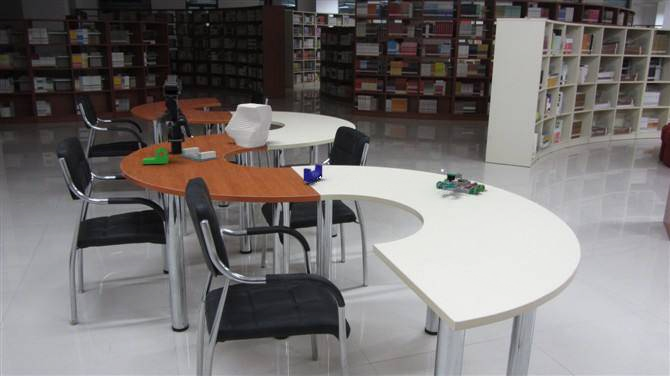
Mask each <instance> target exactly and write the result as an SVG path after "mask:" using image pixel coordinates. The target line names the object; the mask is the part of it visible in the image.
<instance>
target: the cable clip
mask: <svg viewBox="0 0 670 376" xmlns="http://www.w3.org/2000/svg"><path fill="white" fill-rule="evenodd" d="M320 176H321V177H322V178H323V164H315V165H314V169H313V170H312V169H311V168H307V167H303V182H304V181H306V182H305V183H311V182H310V181H312V180H315V179H317V178H319V177H320ZM317 180H318V179H317ZM315 181H316V180H315ZM312 182H313V181H312Z"/></svg>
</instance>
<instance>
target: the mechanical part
mask: <svg viewBox="0 0 670 376" xmlns="http://www.w3.org/2000/svg"><path fill="white" fill-rule="evenodd" d="M160 152H162V153H163V155H160ZM169 160H170V158H169V157H168V151H167V149H166V148H164V147H158V148H157V149H156V151H155V157H145V158H143V159H142V164H143V165H149V164H150V165H153V164H154V165H161V164H163V165H165V164H168V163H169Z"/></svg>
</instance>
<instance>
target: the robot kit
mask: <svg viewBox="0 0 670 376" xmlns="http://www.w3.org/2000/svg"><path fill="white" fill-rule="evenodd" d="M435 187H436V189H437V190H439V189H440V190H444V191H445V190H446V191H449V192H456V193H462V194H467V195H472V196H476V195H478V194H480V192H484V191H485V190H486V186H485V184H481V183H480V184H478V182H477V181H474V182H472V181H471V180H470V179H467V178H463V174H461V173H460V172H456V173H451V172H450V173H446V178H445V179H444V180H443V181H442V180H438V181H437V182H436V183H435Z"/></svg>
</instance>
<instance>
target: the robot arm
mask: <svg viewBox="0 0 670 376" xmlns="http://www.w3.org/2000/svg"><path fill="white" fill-rule="evenodd" d="M162 87H163V88H162V89H163V90H162V94H163V96H162V97H163V98H165V101H164V102H165V103H164V106H165V110H164V111H163V112H164V113H161V114H159V115H157V116H155V119H156V122H157V123H158V124H161V125H162V124H164V126H166V127H167V128H168V131H167V143H170V150H169V151H168V153H169V154H174V155H176V154H183V153H182V149H183V146H182V145H183V144H182V143H185V142H186V137H185V136H186V135H185V133H184V130H183V129H182V127H185V126H188V121H187V120H186V119H181V117H180V116H179V113H181V110H180V109H179V97H180V96H181V91H182V80H181V79H180V78H179V77H178V75H176V74H168V75H167V78H166V79H165V80H164V84H163V85H162Z"/></svg>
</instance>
